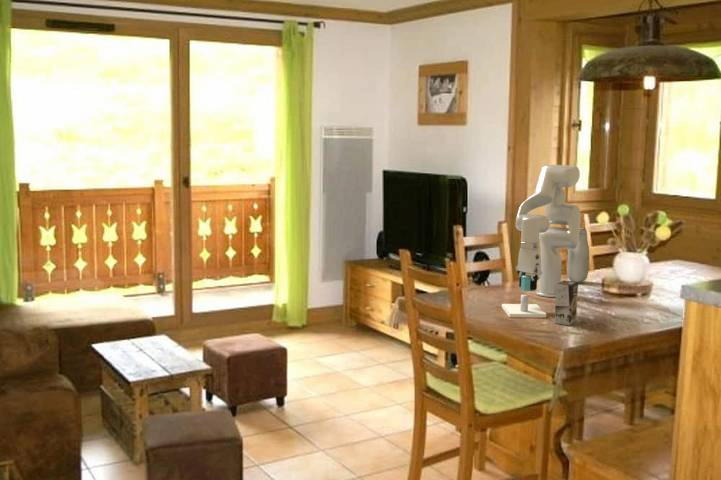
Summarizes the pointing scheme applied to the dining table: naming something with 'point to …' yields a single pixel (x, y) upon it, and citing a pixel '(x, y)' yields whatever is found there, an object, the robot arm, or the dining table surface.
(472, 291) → the dining table surface
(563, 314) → the coffee box
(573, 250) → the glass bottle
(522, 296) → the mount
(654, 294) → the dining table surface
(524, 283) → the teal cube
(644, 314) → the dining table surface
